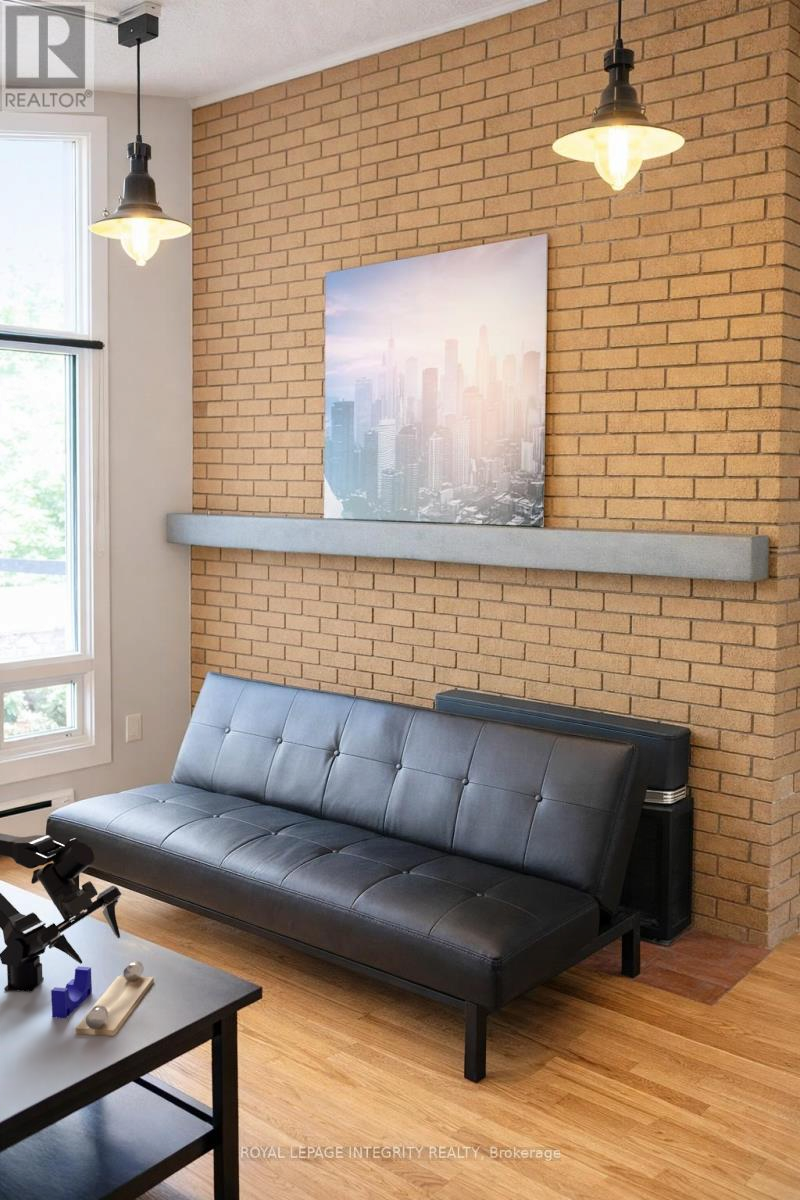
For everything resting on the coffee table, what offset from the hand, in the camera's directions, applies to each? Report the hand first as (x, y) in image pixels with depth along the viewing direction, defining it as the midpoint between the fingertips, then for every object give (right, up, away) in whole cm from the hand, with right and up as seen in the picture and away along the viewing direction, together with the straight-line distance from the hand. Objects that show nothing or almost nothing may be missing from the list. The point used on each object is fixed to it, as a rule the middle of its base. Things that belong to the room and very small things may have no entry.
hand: (100, 950), depth 240 cm
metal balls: (+4, -11, -1) cm, 11 cm away
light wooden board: (+4, -12, -1) cm, 12 cm away
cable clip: (-7, -12, 0) cm, 14 cm away
